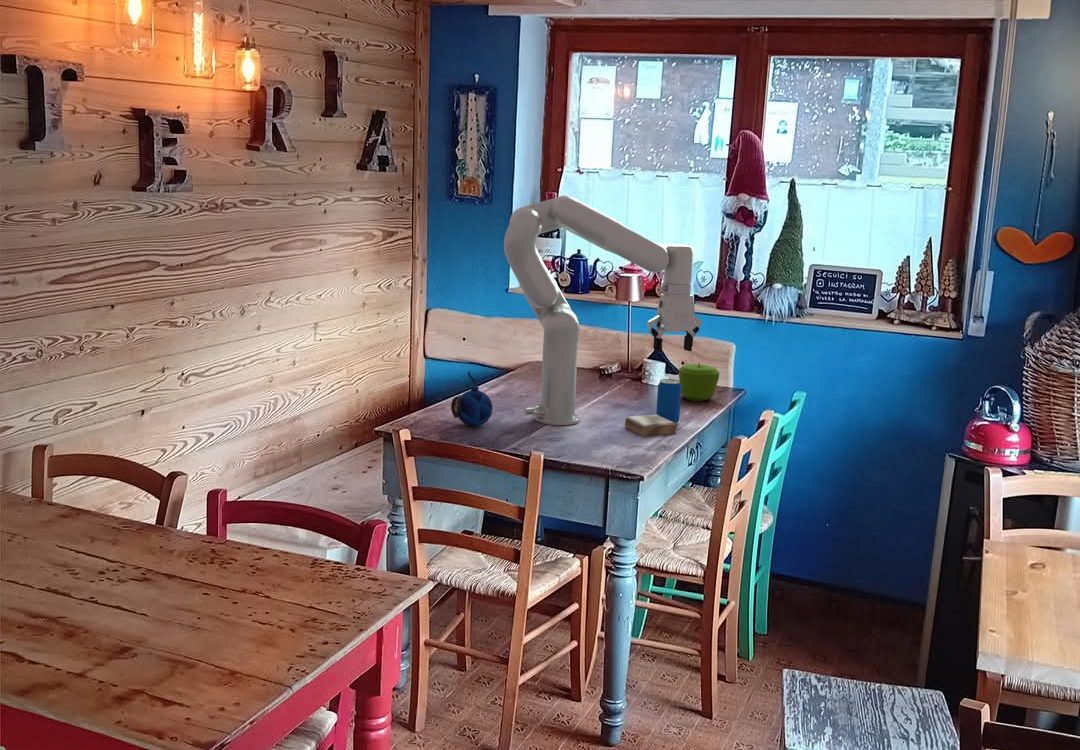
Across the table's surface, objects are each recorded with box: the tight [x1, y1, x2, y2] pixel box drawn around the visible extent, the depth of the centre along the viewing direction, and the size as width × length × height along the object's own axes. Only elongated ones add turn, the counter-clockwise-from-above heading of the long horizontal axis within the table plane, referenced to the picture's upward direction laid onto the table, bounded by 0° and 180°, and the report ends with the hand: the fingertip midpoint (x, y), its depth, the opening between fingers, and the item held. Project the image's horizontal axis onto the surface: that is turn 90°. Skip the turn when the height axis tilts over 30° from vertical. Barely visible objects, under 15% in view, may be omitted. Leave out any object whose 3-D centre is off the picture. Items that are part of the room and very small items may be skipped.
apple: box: [678, 363, 720, 402], centre depth 337 cm, size 12×12×11 cm
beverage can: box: [655, 378, 682, 425], centre depth 305 cm, size 6×6×12 cm
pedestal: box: [624, 414, 677, 437], centre depth 297 cm, size 10×10×3 cm
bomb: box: [450, 371, 494, 427], centre depth 293 cm, size 10×11×15 cm
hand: (672, 351), depth 303 cm, fingers open, 9 cm apart
